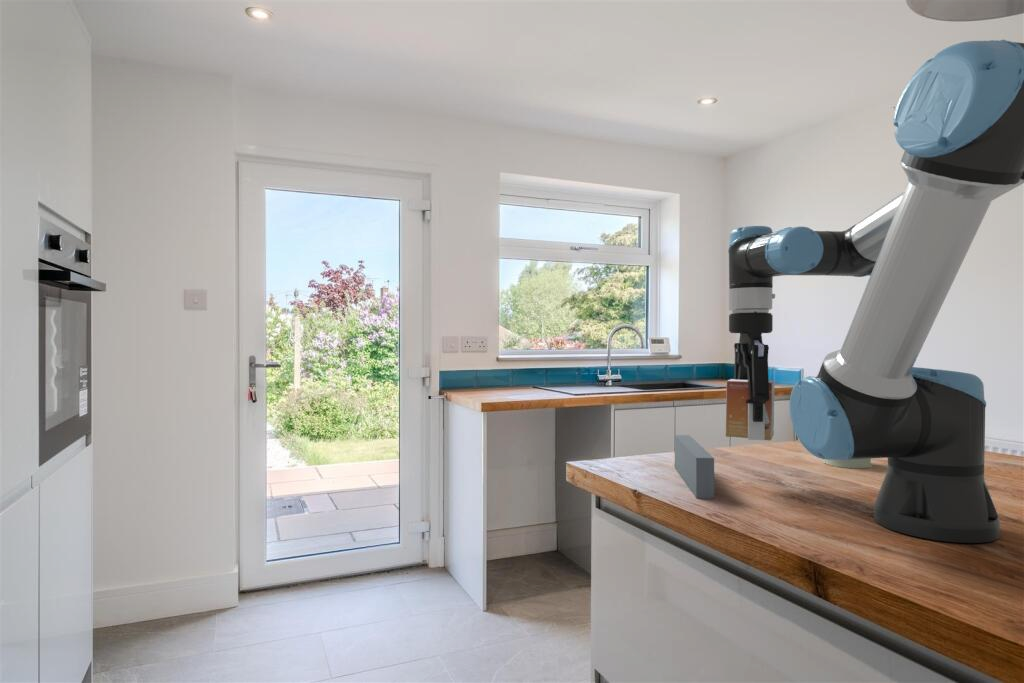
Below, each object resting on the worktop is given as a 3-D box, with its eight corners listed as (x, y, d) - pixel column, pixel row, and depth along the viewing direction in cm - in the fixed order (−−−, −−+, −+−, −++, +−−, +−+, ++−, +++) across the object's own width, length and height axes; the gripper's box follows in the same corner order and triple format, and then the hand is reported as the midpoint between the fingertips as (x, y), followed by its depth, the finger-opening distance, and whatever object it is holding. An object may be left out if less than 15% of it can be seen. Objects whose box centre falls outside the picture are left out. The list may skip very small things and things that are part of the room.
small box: (725, 437, 113) (725, 380, 113) (729, 432, 118) (729, 378, 118) (772, 441, 110) (772, 382, 110) (774, 436, 115) (774, 379, 115)
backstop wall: (714, 498, 106) (714, 458, 106) (696, 498, 106) (696, 457, 106) (689, 468, 130) (689, 435, 130) (674, 467, 130) (674, 434, 130)
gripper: (790, 310, 103) (789, 446, 104) (756, 313, 123) (755, 427, 124) (744, 310, 104) (743, 445, 105) (717, 313, 124) (717, 426, 124)
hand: (750, 435), depth 114 cm, fingers closed on small box, 7 cm apart
